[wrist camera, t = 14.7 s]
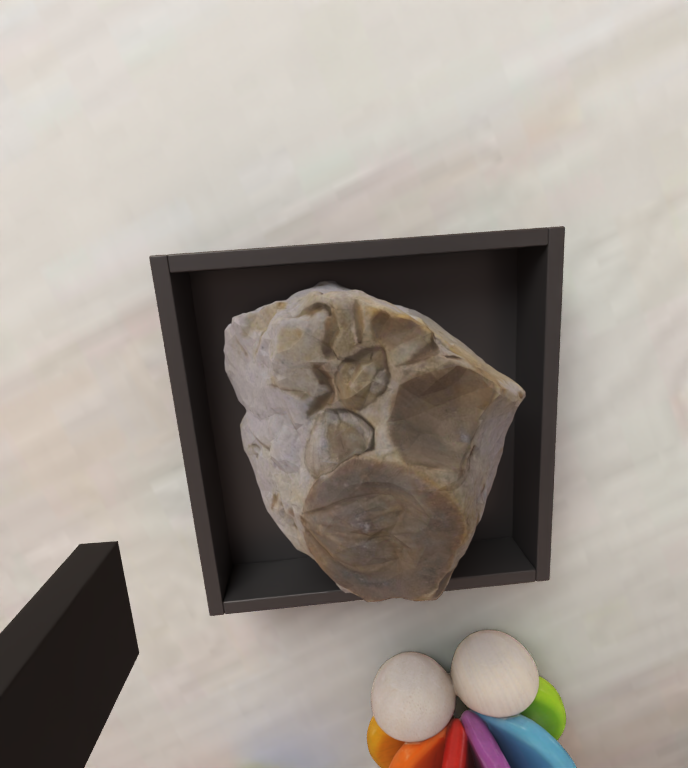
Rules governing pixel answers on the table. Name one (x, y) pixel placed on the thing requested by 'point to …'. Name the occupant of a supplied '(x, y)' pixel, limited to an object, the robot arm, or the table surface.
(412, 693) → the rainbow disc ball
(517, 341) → the tray
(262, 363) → the stone
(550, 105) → the table surface
